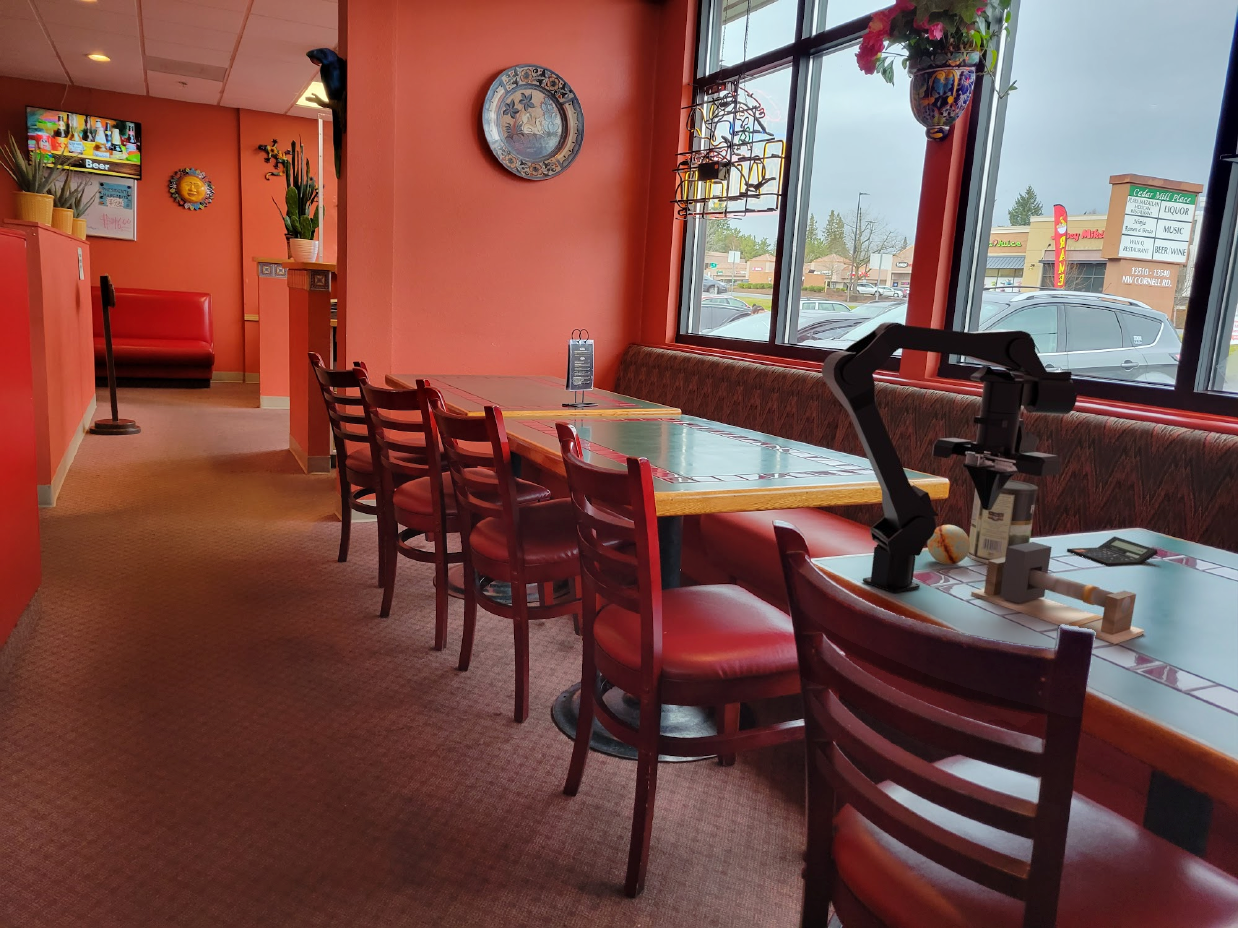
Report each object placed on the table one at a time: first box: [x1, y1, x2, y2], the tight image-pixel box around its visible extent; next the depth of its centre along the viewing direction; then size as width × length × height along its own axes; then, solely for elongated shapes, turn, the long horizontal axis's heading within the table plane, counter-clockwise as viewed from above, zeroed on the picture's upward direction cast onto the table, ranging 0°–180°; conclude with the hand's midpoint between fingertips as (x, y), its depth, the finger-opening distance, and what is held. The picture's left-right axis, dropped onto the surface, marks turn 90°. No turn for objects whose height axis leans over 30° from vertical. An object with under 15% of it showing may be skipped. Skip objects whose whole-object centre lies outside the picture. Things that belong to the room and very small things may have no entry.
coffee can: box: [966, 479, 1039, 565], centre depth 156 cm, size 10×10×14 cm
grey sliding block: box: [1000, 541, 1052, 603], centre depth 131 cm, size 3×7×8 cm, turn 124°
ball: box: [926, 524, 970, 566], centre depth 151 cm, size 7×7×7 cm
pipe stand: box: [970, 557, 1145, 645], centre depth 127 cm, size 22×8×6 cm, turn 34°
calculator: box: [1066, 536, 1158, 567], centre depth 162 cm, size 9×12×3 cm
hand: (987, 509), depth 136 cm, fingers closed
